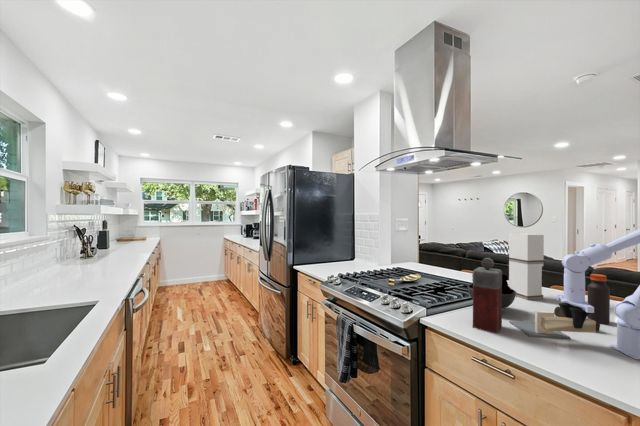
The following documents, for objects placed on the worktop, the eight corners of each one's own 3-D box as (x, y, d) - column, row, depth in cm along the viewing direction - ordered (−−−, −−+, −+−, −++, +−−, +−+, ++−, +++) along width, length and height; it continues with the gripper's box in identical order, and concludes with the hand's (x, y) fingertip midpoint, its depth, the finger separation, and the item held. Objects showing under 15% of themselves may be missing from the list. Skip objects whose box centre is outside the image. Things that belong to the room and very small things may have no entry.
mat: (570, 338, 105) (570, 337, 105) (529, 336, 106) (529, 334, 106) (545, 324, 118) (545, 322, 118) (509, 322, 120) (509, 320, 120)
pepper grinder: (502, 324, 117) (503, 257, 118) (498, 333, 109) (498, 260, 109) (478, 319, 123) (478, 255, 123) (472, 327, 115) (472, 258, 115)
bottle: (614, 325, 118) (614, 277, 118) (595, 323, 119) (595, 276, 119) (601, 319, 124) (601, 273, 125) (583, 317, 126) (583, 273, 126)
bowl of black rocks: (521, 310, 136) (521, 270, 136) (508, 320, 122) (509, 276, 122) (476, 300, 151) (476, 265, 151) (460, 308, 137) (461, 269, 137)
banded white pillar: (543, 298, 154) (543, 234, 154) (527, 300, 152) (527, 234, 152) (524, 293, 165) (524, 233, 165) (509, 294, 163) (509, 233, 163)
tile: (554, 334, 107) (554, 312, 107) (537, 333, 108) (537, 312, 108) (551, 332, 109) (551, 311, 109) (534, 331, 110) (534, 310, 110)
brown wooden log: (601, 332, 111) (601, 320, 111) (590, 332, 111) (590, 320, 111) (560, 315, 130) (560, 305, 130) (551, 315, 130) (552, 305, 130)
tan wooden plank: (595, 332, 99) (595, 321, 99) (546, 330, 101) (546, 319, 101) (588, 329, 102) (588, 318, 102) (540, 327, 104) (540, 316, 104)
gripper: (548, 282, 109) (548, 318, 109) (577, 293, 95) (577, 333, 95) (568, 283, 108) (568, 318, 108) (601, 294, 94) (601, 335, 94)
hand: (574, 326), depth 102 cm, fingers closed on tan wooden plank, 3 cm apart
